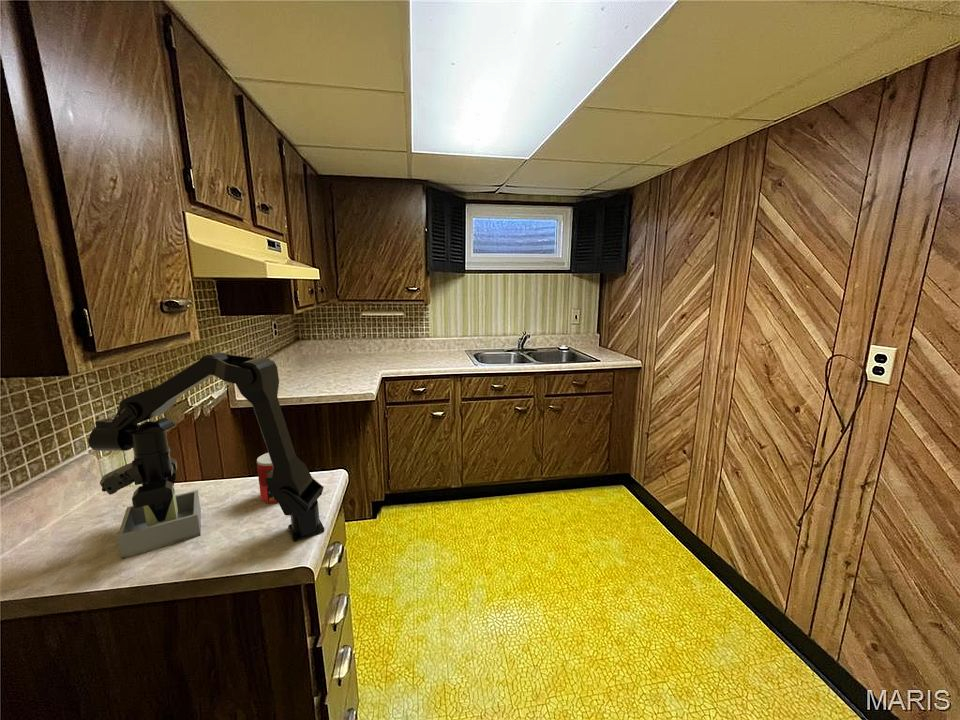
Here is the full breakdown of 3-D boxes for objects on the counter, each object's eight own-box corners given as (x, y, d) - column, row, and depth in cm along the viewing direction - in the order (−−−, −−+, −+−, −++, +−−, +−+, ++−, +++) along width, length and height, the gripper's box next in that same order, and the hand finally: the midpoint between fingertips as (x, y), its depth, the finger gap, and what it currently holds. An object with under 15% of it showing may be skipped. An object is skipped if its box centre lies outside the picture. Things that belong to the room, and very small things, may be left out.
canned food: (269, 507, 96) (265, 466, 94) (255, 497, 101) (250, 457, 99) (299, 494, 102) (295, 455, 100) (284, 485, 107) (280, 448, 105)
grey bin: (200, 535, 85) (197, 514, 84) (121, 559, 78) (117, 536, 77) (200, 508, 95) (197, 490, 94) (130, 527, 88) (127, 507, 87)
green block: (176, 520, 85) (172, 496, 84) (147, 528, 82) (142, 503, 81) (177, 510, 89) (174, 486, 88) (149, 517, 86) (145, 493, 85)
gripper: (108, 444, 86) (121, 508, 89) (89, 476, 71) (104, 552, 74) (172, 433, 92) (181, 493, 95) (166, 461, 77) (178, 531, 80)
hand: (162, 515), depth 86 cm, fingers closed on green block, 5 cm apart
